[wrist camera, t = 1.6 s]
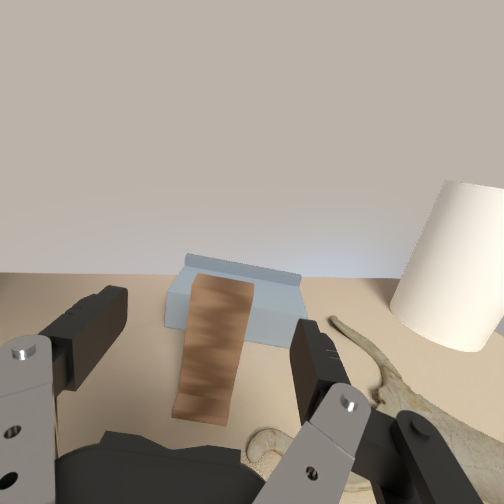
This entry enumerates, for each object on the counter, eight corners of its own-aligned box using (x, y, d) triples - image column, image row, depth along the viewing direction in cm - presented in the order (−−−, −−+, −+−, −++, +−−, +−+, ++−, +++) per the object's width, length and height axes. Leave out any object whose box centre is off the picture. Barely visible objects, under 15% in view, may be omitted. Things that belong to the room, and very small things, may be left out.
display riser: (164, 326, 37) (168, 279, 35) (183, 292, 47) (187, 253, 44) (297, 349, 38) (311, 305, 36) (289, 311, 48) (300, 274, 45)
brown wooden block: (171, 417, 26) (186, 295, 21) (187, 370, 31) (201, 265, 26) (226, 426, 26) (253, 307, 21) (231, 377, 31) (254, 275, 26)
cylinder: (473, 365, 43) (579, 202, 34) (376, 310, 55) (433, 177, 45) (489, 334, 55) (572, 205, 45) (405, 294, 66) (456, 184, 56)
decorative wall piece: (532, 418, 36) (327, 320, 49) (545, 403, 35) (332, 307, 48) (817, 950, 11) (241, 461, 24) (893, 954, 10) (247, 439, 23)
